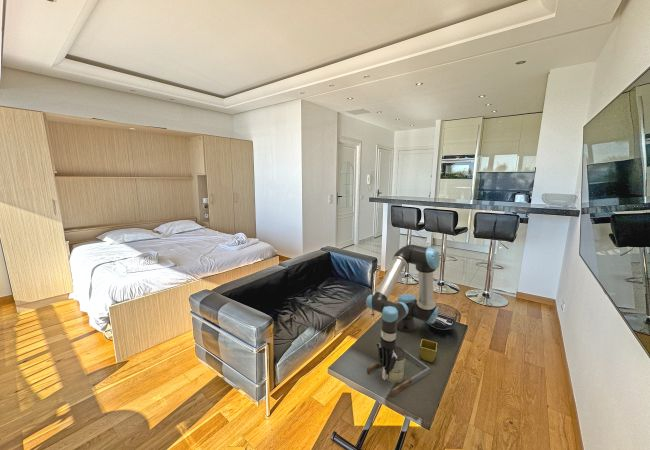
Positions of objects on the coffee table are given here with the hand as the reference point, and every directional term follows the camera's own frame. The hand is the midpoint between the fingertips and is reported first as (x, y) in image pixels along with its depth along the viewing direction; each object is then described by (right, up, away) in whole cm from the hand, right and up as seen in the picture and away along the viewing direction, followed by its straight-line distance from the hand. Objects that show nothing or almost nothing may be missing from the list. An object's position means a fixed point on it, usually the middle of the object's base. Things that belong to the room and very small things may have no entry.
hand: (385, 377), depth 134 cm
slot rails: (+2, -1, +2) cm, 3 cm away
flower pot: (+29, +1, +17) cm, 34 cm away
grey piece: (+14, 0, +9) cm, 17 cm away
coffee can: (+5, -1, +4) cm, 7 cm away
